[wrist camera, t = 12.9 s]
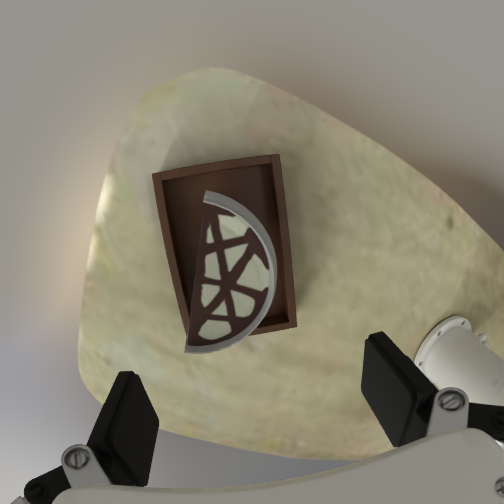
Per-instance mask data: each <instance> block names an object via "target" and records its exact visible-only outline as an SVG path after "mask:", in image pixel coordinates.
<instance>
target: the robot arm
mask: <svg viewBox="0 0 504 504" xmlns="http://www.w3.org/2000/svg"><path fill="white" fill-rule="evenodd" d="M486 338H487V335H486V333H484V332H483V333H481V334H480V335H478V336H477V335H475V334H474V333H473V332H472V328H471V324H470V322H469V321H468V320H467V319H466V318H464V317H462V316H458V315H457V316H452V317H449V318H447V319H446V320H444V321H442V322H441V323H440V324H438V325H437V326H436V327H435V328H434V329H433V330H432V331H431V332H430V333H429V334H428V336H427V337H426V338H425V340H424V341H423V343H422V344H421V346H420V348H419V350H418V352H417V354H416V357H415V361H414V363H413V361H412V360H411V359H410V358H409V357H408V356H406V355H404V353H403V352H402V351H401V350H400V349H399V348H398V347H397V346H396V345H395V344H394V343H393V342H392V340H391V339H390V338H389V337H388V336H387V335H386V334H385V333H384V332H383V331H381V332H377V333H374V334H370V335H369V337H368V339H366V340H365V349H364V361H363V372H362V382H361V390H362V393H363V395H364V397H365V399H366V400H367V402H368V404H369V405H370V407H371V409H372V411H373V412H374V414H375V416H376V417H377V419H378V421H379V423H380V424H381V426H382V428H383V429H384V431H385V433H386V435H387V436H388V438H389V440H390V442H391V443H392V445H393V446H394V447H398V448H396V449H393V450H390V451H388V452H385V453H382V454H379V455H376V456H373V457H370V458H367V459H365V460H361V461H358V462H355V463H352V464H349V465H345V466H342V467H338V468H335V469H331V470H327V471H323V472H319V473H315V474H310V475H306V476H301V477H296V478H291V479H286V480H280V481H274V482H267V483H260V484H252V485H243V486H232V487H217V488H151V487H144V486H147V484H148V479H149V473H150V468H151V463H152V458H153V453H154V448H155V442H156V437H157V433H158V428H159V419H158V416H157V414H156V412H155V410H154V408H153V406H152V404H151V402H150V400H149V398H148V395H147V393H146V391H145V389H144V386H143V384H142V382H141V379H140V377H139V375H138V374H135V373H134V372H133V371H120V372H119V373H118V375H117V377H116V380H115V382H114V384H113V386H112V388H111V390H110V393H109V395H108V397H107V399H106V402H105V403H104V405H103V407H102V409H101V412H100V414H99V416H98V418H97V421H96V423H95V425H94V428H93V430H92V433H91V435H90V437H89V440H88V442H87V445H82V444H77V445H73V446H71V447H69V448H67V449H66V450H65V451H64V453H63V454H62V457H61V463H62V465H61V466H59V467H58V468H56V469H54V470H52V471H49V472H47V473H45V474H43V475H41V476H39V477H37V478H34V479H32V480H31V481H29V482H28V483H27V484H26V486H25V488H24V497H23V498H22V497H20V496H19V497H18V498H17V499H16V500H14V501H13V502H12V503H11V504H504V360H503V359H502V358H500V357H499V356H498V355H497V354H495V353H494V352H493V351H492V350H490V349H489V348H488V343H487V342H486V341H484V340H485V339H486ZM433 382H434V383H435V384H436V385H437V386H438V388H439V389H440V391H438V389H437V388H436V387H435V386H434V385H433V384H432V383H433Z"/></svg>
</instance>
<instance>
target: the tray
mask: <svg viewBox="0 0 504 504" xmlns="http://www.w3.org/2000/svg"><path fill="white" fill-rule="evenodd" d="M152 178H153V184H154V190H155V196H156V202H157V208H158V214H159V219H160V224H161V229H162V234H163V239H164V244H165V249H166V254H167V259H168V263H169V268H170V272H171V276H172V281H173V285H174V289H175V293H176V297H177V301H178V305H179V309H180V313H181V317H182V321H183V324H184V328H185V332H186V335H187V333H188V327H189V321H190V312H191V304H192V303H191V301H192V297H193V295H192V293H193V289H194V279H195V273H196V265H197V257H198V250H199V242H200V235H201V228H202V222H203V212H204V208H205V202H203V200H204V195H205V192H206V190H207V191H211V192H216V193H219V194H222V195H224V196H227V197H229V198H232V199H233V200H235V201H236V202H238V203H240V204H241V205H243V206H244V207H245V208H247V209H248V210H249V211H250V212H251V213H252V214H254V215H255V217H256V218H257V219H258V220H259V221H260V223H261V224H262V225H263V227H264V228H265V230H266V232H267V233H268V235H269V237H270V239H271V242H272V244H273V247H274V250H275V255H276V260H277V281H276V288H275V294H274V297H273V300H272V303H271V306H270V308H269V310H268V312H267V314H266V315H265V317H264V318H263V319H262V321H261V322H260V323H259V325H258V326H257V327H256V328H255V329H254V330H253V331H252V332H251V333H250V334H249V335H248V336H250V335H256V334H262V333H268V332H273V331H279V330H284V329H289V328H294V327H297V318H296V306H295V294H294V282H293V271H292V261H291V250H290V241H289V231H288V222H287V213H286V204H285V195H284V187H283V179H282V171H281V163H280V156H279V154H273V155H264V156H256V157H248V158H240V159H233V160H226V161H219V162H213V163H207V164H201V165H195V166H189V167H184V168H178V169H173V170H168V171H163V172H158V173H153V174H152Z"/></svg>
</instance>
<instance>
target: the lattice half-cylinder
mask: <svg viewBox="0 0 504 504" xmlns="http://www.w3.org/2000/svg"><path fill="white" fill-rule="evenodd" d="M203 202H205V208H204V212H203V222H202V228H201V235H200V242H199V250H198V257H197V265H196V273H195V279H194V289H193V293H192V295H193V297H192V301H191V303H192V304H191V312H190V321H189V327H188V333H187V339H186V345H185V352H184V353H189V354H203V353H211V352H216V351H220V350H223V349H225V348H228V347H230V346H232V345H234V344H236V343H238V342H240V341H241V340H243V339H244V338H245V337H247V336H248V335H249V334H250V333H251V332H252V331H253V330H254V329H255V328H256V327H257V326H258V325H259V323H260V322H261V321H262V319H263V318H264V317H265V315H266V314H267V312H268V310H269V308H270V306H271V303H272V300H273V297H274V294H275V288H276V281H277V260H276V255H275V250H274V247H273V244H272V242H271V239H270V237H269V235H268V233H267V232H266V230H265V228H264V227H263V225H262V224H261V223H260V221H259V220H258V219H257V218H256V217H255V215H254V214H252V213H251V212H250V211H249V210H248V209H247V208H245V207H244V206H243V205H241V204H240V203H238V202H236V201H235V200H233V199H232V198H229V197H227V196H224V195H222V194H219V193H216V192H211V191H207V190H206V192H205V195H204V200H203Z"/></svg>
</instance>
